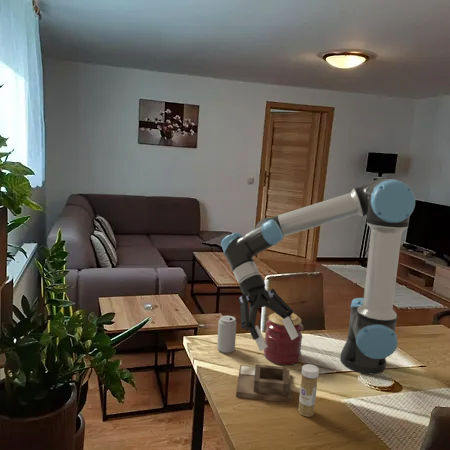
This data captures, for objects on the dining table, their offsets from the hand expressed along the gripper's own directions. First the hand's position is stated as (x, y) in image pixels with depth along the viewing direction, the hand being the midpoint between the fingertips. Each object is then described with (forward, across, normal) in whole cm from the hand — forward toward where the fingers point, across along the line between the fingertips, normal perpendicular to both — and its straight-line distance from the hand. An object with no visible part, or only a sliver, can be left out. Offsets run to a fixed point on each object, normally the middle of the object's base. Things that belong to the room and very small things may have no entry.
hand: (280, 343), depth 125 cm
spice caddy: (+8, -1, -15) cm, 17 cm away
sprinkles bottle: (+20, 0, -3) cm, 20 cm away
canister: (+1, -19, -22) cm, 29 cm away
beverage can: (-9, -6, -33) cm, 35 cm away
